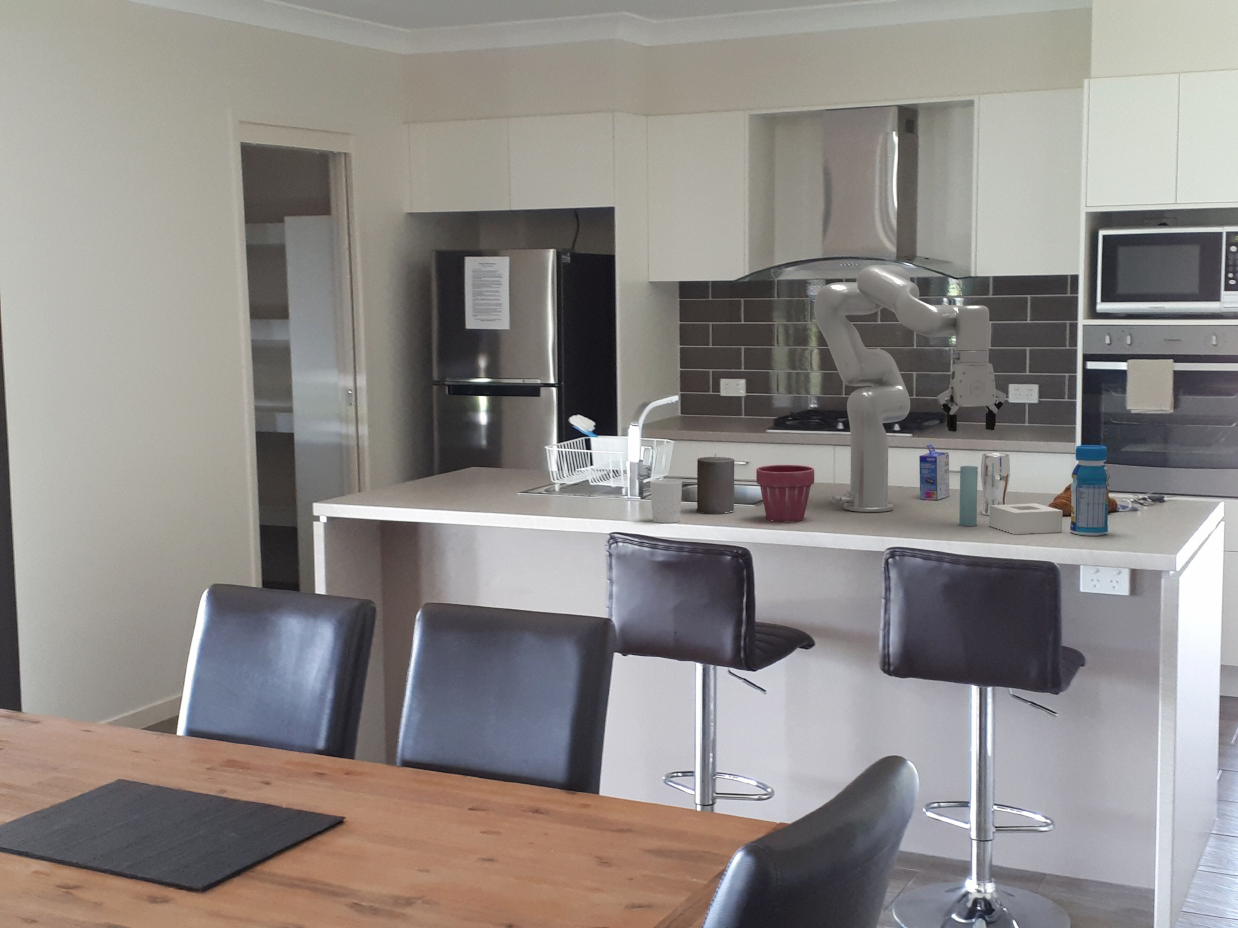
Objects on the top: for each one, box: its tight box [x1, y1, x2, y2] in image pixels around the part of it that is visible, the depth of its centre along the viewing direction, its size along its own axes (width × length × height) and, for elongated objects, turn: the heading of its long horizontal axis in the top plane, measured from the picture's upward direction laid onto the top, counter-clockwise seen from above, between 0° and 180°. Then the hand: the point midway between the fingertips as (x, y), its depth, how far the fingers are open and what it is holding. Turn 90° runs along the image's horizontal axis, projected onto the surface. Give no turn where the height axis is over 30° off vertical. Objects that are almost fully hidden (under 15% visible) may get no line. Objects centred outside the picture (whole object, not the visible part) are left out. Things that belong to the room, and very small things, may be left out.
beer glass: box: [980, 452, 1011, 516], centre depth 334 cm, size 7×7×15 cm
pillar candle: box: [696, 453, 735, 515], centre depth 344 cm, size 10×10×15 cm
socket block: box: [988, 502, 1063, 535], centre depth 311 cm, size 12×12×5 cm
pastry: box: [1047, 482, 1119, 517], centre depth 335 cm, size 17×15×8 cm
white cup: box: [649, 478, 683, 524], centre depth 329 cm, size 8×8×10 cm
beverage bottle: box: [1069, 444, 1111, 537], centre depth 304 cm, size 8×8×20 cm
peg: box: [958, 465, 979, 527], centre depth 318 cm, size 4×4×14 cm
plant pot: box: [755, 464, 815, 522], centre depth 330 cm, size 14×14×13 cm
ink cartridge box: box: [918, 444, 950, 501], centre depth 364 cm, size 10×6×14 cm, turn 148°
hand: (971, 430), depth 316 cm, fingers open, 9 cm apart
